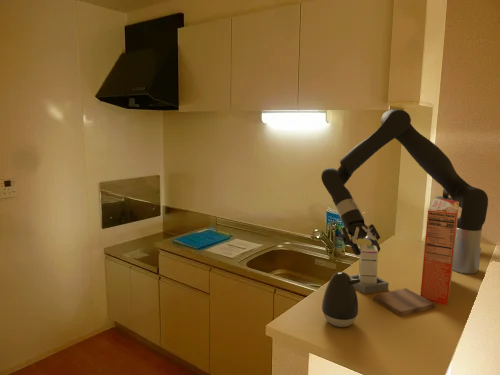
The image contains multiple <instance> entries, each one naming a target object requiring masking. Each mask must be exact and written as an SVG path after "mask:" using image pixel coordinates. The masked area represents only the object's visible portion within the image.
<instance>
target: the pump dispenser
mask: <svg viewBox="0 0 500 375" xmlns="http://www.w3.org/2000/svg"><path fill="white" fill-rule="evenodd" d="M350 276H351V275H349V274H348V273H347V272H343V271H337V272H335V273H334V274H333V275H332V276H331V278H330V279H329V281H328V283H327V285H326V288H325V290H324V294H323V298H322V304H321V311H322V313H323V316H324V319H325V320H326V321H327V322H328V323H329V324H331V325H333V326H335V327H338V328H346V327H348V326H350V325H352V324H353V323H355V320H356V319H357V316H358V314H359V299H358V294H357V291H356V290H357V289H356V288H355V287H354V284H356V283H360V279H351V278H350Z"/></svg>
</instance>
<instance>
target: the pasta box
mask: <svg viewBox="0 0 500 375" xmlns="http://www.w3.org/2000/svg"><path fill="white" fill-rule="evenodd" d="M435 198H436V197H435ZM435 198H433V200H432V202H431V204H430V206H429V208H428V209H427V215H426V216H427V217H426V227H425V228H426V229H425V239H424V240H425V241H424V249H423V250H424V252H423V262H422V272H421V284H420V293H419V294H420V296H422V297H424V298H426V299H428V300H429V301H431V302H433V303H435V304H438V305H443V306H449V298H450V291H451V284H452V275H453V270H452V267H453V257H454V247H455V237H456V228H457V218H459V208H460V207H459V201H456V200H445V199H435Z"/></svg>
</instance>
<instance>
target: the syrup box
mask: <svg viewBox="0 0 500 375" xmlns="http://www.w3.org/2000/svg"><path fill="white" fill-rule="evenodd" d="M359 246H360V247H359V250H360V252H361V254H359V261H358V262H359V266H358V267H359V268H358V274H359V279H360V283H362V284H364V285H365V286H367V285H372V284H377V277H378V260H379V252H378V249H377V247H376V246H375V245H371V244H360V245H359Z"/></svg>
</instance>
